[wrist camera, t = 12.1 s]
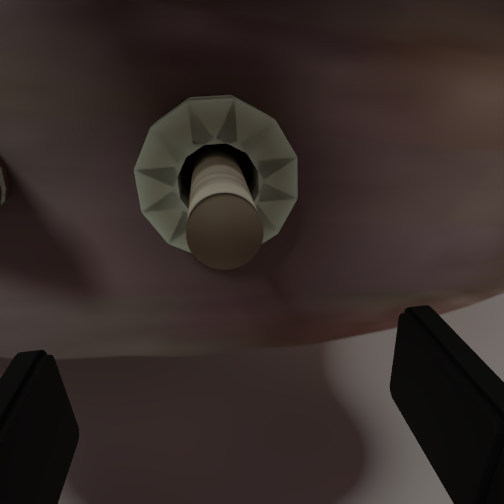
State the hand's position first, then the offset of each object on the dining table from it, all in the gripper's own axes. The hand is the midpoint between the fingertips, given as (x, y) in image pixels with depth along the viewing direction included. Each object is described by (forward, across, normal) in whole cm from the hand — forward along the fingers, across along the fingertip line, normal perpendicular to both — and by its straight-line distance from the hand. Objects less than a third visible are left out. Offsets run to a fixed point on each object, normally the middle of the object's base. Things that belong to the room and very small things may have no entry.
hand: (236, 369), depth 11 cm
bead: (+24, 0, 0) cm, 24 cm away
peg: (+24, 0, 0) cm, 24 cm away
